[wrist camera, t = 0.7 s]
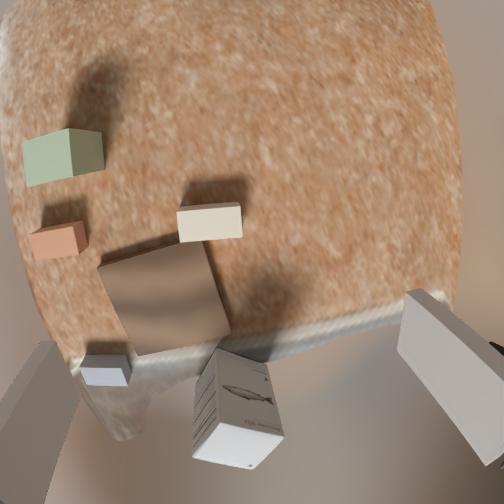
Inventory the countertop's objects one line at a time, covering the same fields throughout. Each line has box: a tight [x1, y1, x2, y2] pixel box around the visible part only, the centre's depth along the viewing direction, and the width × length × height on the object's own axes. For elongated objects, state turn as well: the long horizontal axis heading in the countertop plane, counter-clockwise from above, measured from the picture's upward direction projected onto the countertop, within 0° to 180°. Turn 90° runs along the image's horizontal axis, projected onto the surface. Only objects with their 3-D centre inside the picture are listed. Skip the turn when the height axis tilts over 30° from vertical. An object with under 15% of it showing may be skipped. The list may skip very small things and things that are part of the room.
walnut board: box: [97, 240, 232, 356], centre depth 33 cm, size 12×12×1 cm
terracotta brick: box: [29, 220, 88, 261], centre depth 29 cm, size 6×3×3 cm, turn 95°
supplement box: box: [192, 348, 285, 470], centre depth 32 cm, size 7×7×13 cm
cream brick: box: [177, 202, 242, 243], centre depth 30 cm, size 6×3×3 cm, turn 93°
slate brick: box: [79, 355, 132, 386], centre depth 35 cm, size 6×3×3 cm, turn 93°
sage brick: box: [22, 128, 105, 187], centre depth 24 cm, size 4×5×8 cm
